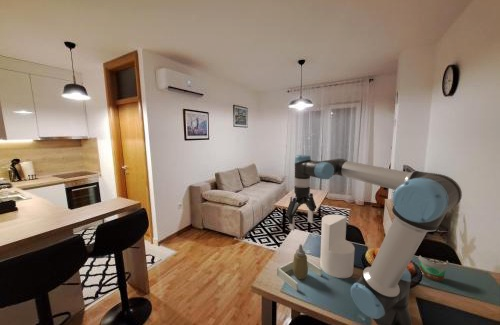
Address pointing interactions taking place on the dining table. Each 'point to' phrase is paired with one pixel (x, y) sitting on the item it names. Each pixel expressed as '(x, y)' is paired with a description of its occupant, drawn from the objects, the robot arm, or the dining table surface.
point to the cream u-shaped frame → (289, 266)
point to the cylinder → (336, 247)
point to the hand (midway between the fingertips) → (301, 225)
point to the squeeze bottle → (300, 263)
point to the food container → (433, 268)
